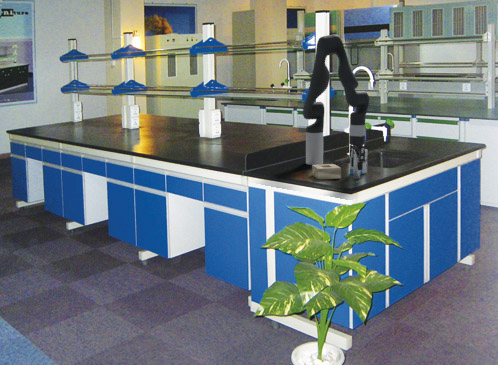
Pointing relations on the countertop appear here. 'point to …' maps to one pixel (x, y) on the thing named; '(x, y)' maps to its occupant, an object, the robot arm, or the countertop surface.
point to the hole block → (326, 171)
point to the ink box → (363, 164)
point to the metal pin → (356, 169)
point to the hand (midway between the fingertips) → (356, 168)
